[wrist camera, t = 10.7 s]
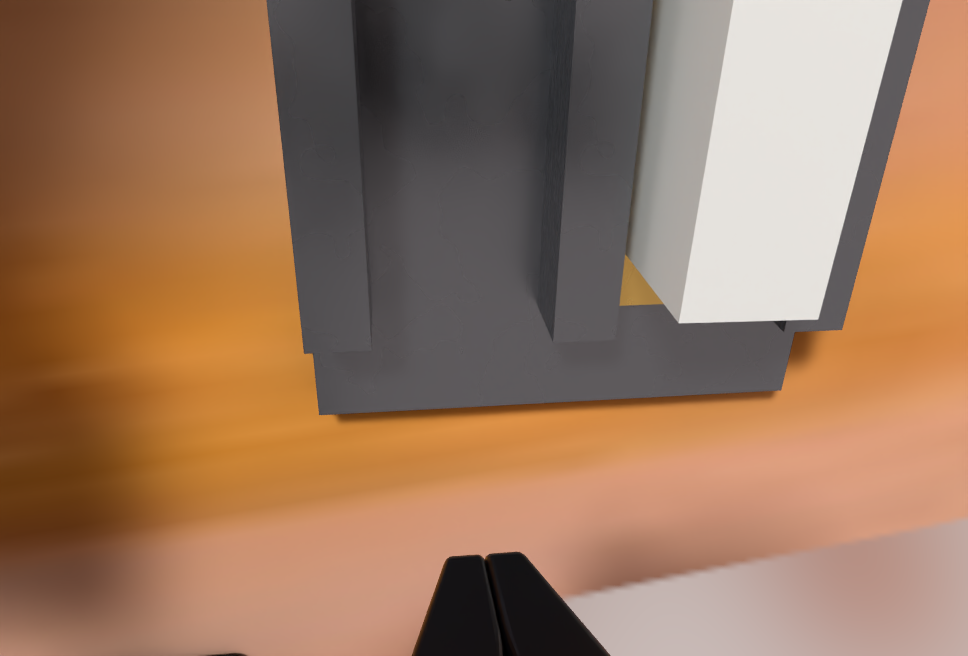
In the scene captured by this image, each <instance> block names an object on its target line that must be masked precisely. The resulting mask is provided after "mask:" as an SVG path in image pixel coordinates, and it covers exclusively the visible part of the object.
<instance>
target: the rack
mask: <svg viewBox="0 0 968 656" xmlns="http://www.w3.org/2000/svg"><path fill="white" fill-rule="evenodd" d="M653 1H654V0H267V9H268V18H269V27H270V37H271V46H272V56H273V65H274V75H275V84H276V93H277V103H278V112H279V122H280V131H281V140H282V150H283V159H284V169H285V178H286V188H287V197H288V206H289V216H290V225H291V235H292V244H293V253H294V263H295V272H296V282H297V291H298V301H299V310H300V319H301V329H302V338H303V348H304V354H308V353H313V358H314V368H315V378H316V388H317V398H318V408H319V415H331V414H350V413H368V412H387V411H405V410H424V409H443V408H461V407H480V406H498V405H517V404H536V403H554V402H573V401H591V400H610V399H628V398H647V397H666V396H684V395H703V394H721V393H740V392H759V391H777V390H781V389H782V384H783V380H784V376H785V372H786V367H787V363H788V359H789V355H790V350H791V346H792V342H793V338H794V333H795V332H804V331H826V330H842V328H843V324H844V320H845V317H846V313H847V309H848V305H849V302H850V298H851V294H852V290H853V287H854V283H855V279H856V275H857V272H858V268H859V264H860V260H861V257H862V253H863V249H864V245H865V242H866V238H867V234H868V230H869V227H870V223H871V219H872V215H873V212H874V208H875V204H876V200H877V197H878V193H879V189H880V185H881V182H882V178H883V174H884V170H885V167H886V163H887V159H888V155H889V152H890V148H891V144H892V140H893V137H894V133H895V129H896V125H897V122H898V118H899V114H900V110H901V107H902V103H903V99H904V95H905V92H906V88H907V84H908V80H909V77H910V73H911V69H912V65H913V62H914V58H915V54H916V50H917V47H918V43H919V39H920V35H921V32H922V28H923V24H924V20H925V17H926V13H927V9H928V5H929V2H930V0H903V1H902V4H901V8H900V12H899V16H898V20H897V23H896V27H895V31H894V35H893V38H892V42H891V46H890V50H889V54H888V57H887V61H886V65H885V69H884V73H883V76H882V80H881V84H880V88H879V91H878V95H877V99H876V103H875V107H874V110H873V114H872V118H871V122H870V125H869V129H868V133H867V137H866V141H865V144H864V148H863V152H862V156H861V160H860V163H859V167H858V171H857V175H856V178H855V182H854V186H853V190H852V194H851V197H850V201H849V205H848V209H847V212H846V216H845V220H844V224H843V228H842V231H841V235H840V239H839V243H838V247H837V250H836V254H835V258H834V262H833V265H832V269H831V273H830V277H829V281H828V284H827V288H826V292H825V296H824V299H823V303H822V307H821V311H820V315H819V318H818V320H782V321H747V322H711V323H678V322H677V320H676V319H675V318H674V317H673V315H672V314H671V313H670V311H669V310H668V309H667V307H666V306H665V305H664V304H663V302H662V301H661V300H660V298H659V297H658V296H657V294H656V293H655V292H654V291H653V289H652V288H651V287H650V285H649V284H648V283H647V281H646V280H645V279H644V278H643V276H642V275H641V274H640V272H639V271H638V270H637V269H636V267H635V266H634V265H633V263H632V262H631V261H630V259H629V258H628V257H627V256H626V254H625V251H626V242H627V233H628V224H629V215H630V206H631V197H632V188H633V179H634V170H635V161H636V152H637V143H638V134H639V125H640V116H641V107H642V98H643V89H644V80H645V71H646V62H647V53H648V44H649V35H650V26H651V17H652V9H653Z"/></svg>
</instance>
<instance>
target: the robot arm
mask: <svg viewBox="0 0 968 656" xmlns="http://www.w3.org/2000/svg"><path fill="white" fill-rule="evenodd" d="M219 656H238V655H219ZM412 656H610V654H609V653H608V652H607V651H606V650H605V649H604V647H603V646H602V645H601V644H600V643H599V642H598V640H597V639H596V638H595V637H594V636H593V635H592V633H591V632H590V631H589V630H588V629H587V628H586V626H585V625H584V624H583V623H582V622H581V621H580V619H579V618H578V617H577V616H576V615H575V614H574V612H573V611H572V610H571V609H570V608H569V607H568V606H567V604H566V603H565V602H564V601H563V599H562V598H561V597H560V596H559V595H558V594H557V592H556V591H555V590H554V589H553V588H552V587H551V585H550V584H549V583H548V582H547V581H546V580H545V578H544V577H543V576H542V575H541V574H540V573H539V571H538V570H537V569H536V568H535V567H534V566H533V564H532V563H531V562H530V561H529V560H528V558H527V557H526V556H525V555H524V554H522V553H520V552H507V553H493V554H489V555H488V556H486V558H485V560H484V558H483V557H482V556H480V555H465V556H452V557H449V558H447V560H446V561H445V563H444V565H443V568H442V571H441V574H440V577H439V580H438V582H437V585H436V588H435V591H434V594H433V597H432V599H431V602H430V605H429V608H428V611H427V614H426V617H425V619H424V622H423V625H422V628H421V631H420V634H419V636H418V639H417V642H416V645H415V648H414V651H413V654H412Z"/></svg>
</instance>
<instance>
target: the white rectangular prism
mask: <svg viewBox="0 0 968 656" xmlns="http://www.w3.org/2000/svg"><path fill="white" fill-rule="evenodd" d="M902 1H903V0H654V1H653V9H652V17H651V26H650V35H649V44H648V53H647V62H646V71H645V80H644V89H643V98H642V107H641V116H640V125H639V134H638V143H637V152H636V161H635V170H634V179H633V188H632V197H631V206H630V215H629V224H628V233H627V242H626V251H625V254H626V256H627V257H628V258H629V259H630V261H631V262H632V263H633V265H634V266H635V267H636V269H637V270H638V271H639V272H640V274H641V275H642V276H643V278H644V279H645V280H646V281H647V283H648V284H649V285H650V287H651V288H652V289H653V291H654V292H655V293H656V294H657V296H658V297H659V298H660V300H661V301H662V302H663V304H664V305H665V306H666V307H667V309H668V310H669V311H670V313H671V314H672V315H673V317H674V318H675V319H676V320H677V322H678V323H711V322H747V321H782V320H818V318H819V315H820V311H821V307H822V303H823V299H824V296H825V292H826V288H827V284H828V281H829V277H830V273H831V269H832V265H833V262H834V258H835V254H836V250H837V247H838V243H839V239H840V235H841V231H842V228H843V224H844V220H845V216H846V212H847V209H848V205H849V201H850V197H851V194H852V190H853V186H854V182H855V178H856V175H857V171H858V167H859V163H860V160H861V156H862V152H863V148H864V144H865V141H866V137H867V133H868V129H869V125H870V122H871V118H872V114H873V110H874V107H875V103H876V99H877V95H878V91H879V88H880V84H881V80H882V76H883V73H884V69H885V65H886V61H887V57H888V54H889V50H890V46H891V42H892V38H893V35H894V31H895V27H896V23H897V20H898V16H899V12H900V8H901V4H902Z"/></svg>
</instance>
